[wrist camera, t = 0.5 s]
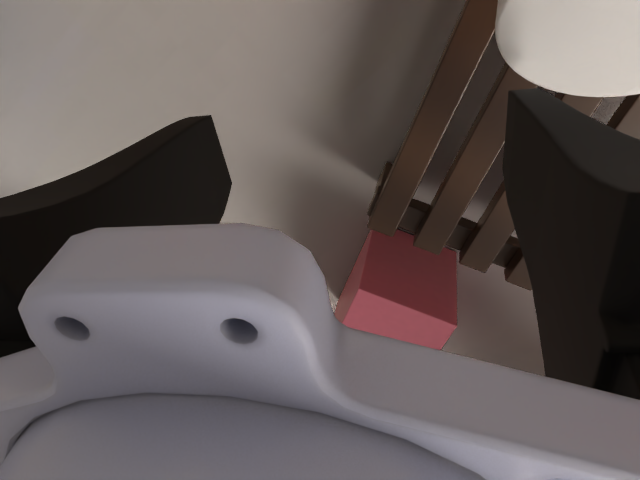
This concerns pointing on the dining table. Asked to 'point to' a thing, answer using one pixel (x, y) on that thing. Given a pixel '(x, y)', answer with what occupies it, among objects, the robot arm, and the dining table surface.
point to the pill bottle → (573, 44)
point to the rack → (467, 156)
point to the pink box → (401, 291)
